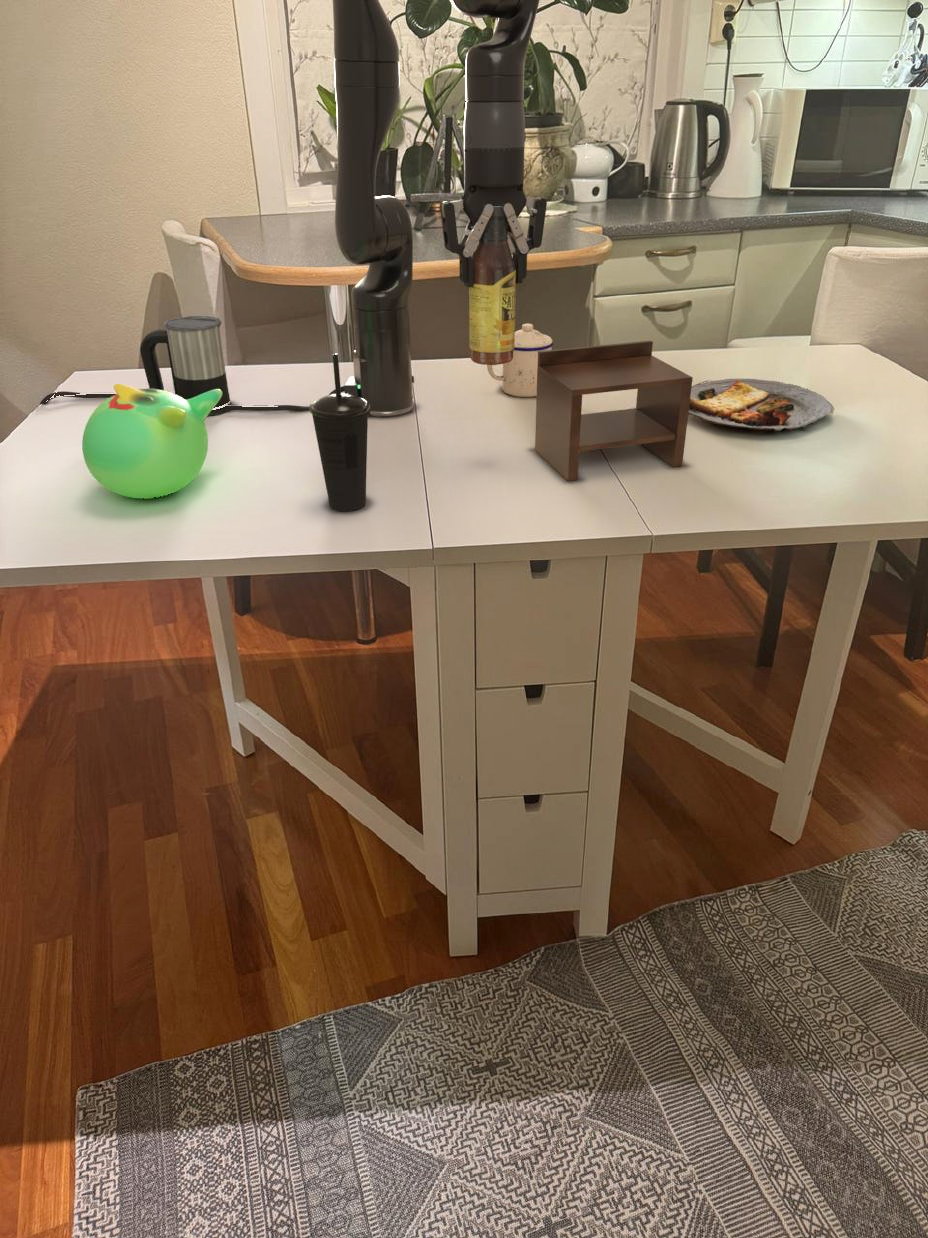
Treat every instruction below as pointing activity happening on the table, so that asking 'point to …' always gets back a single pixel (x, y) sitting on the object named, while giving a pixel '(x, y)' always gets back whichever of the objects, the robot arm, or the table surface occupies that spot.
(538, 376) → the shelf
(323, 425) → the drinking cup
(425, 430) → the table surface
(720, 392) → the food plate
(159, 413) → the toy bird
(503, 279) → the sauce bottle
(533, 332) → the teacup with lid
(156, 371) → the milk frother
